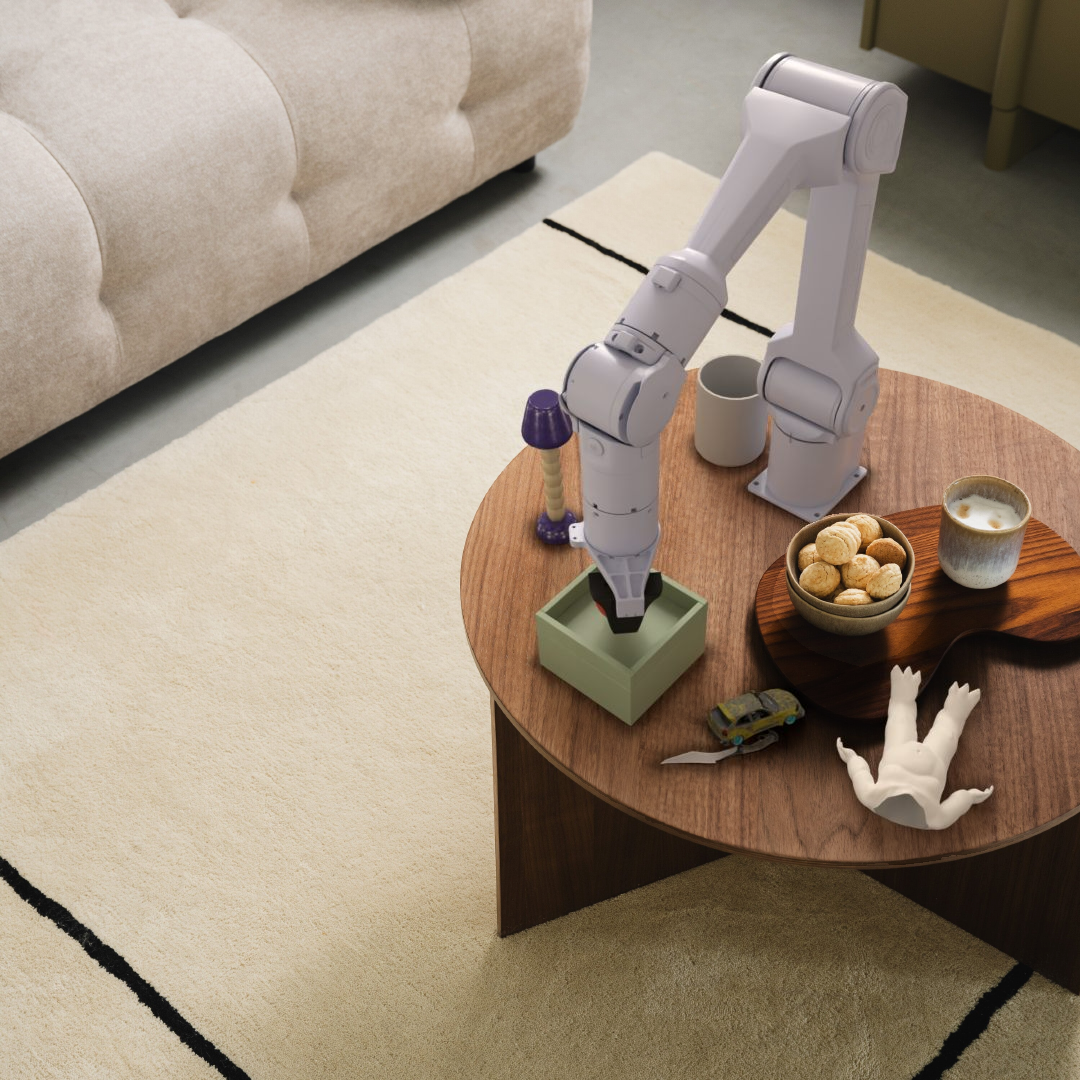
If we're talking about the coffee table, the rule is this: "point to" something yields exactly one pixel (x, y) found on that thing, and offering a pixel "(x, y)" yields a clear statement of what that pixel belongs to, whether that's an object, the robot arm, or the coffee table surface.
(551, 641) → the open box
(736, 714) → the race car
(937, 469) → the coffee table surface
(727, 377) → the cup
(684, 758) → the knife
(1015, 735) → the coffee table surface
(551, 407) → the toy lamp
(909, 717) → the toy creature
